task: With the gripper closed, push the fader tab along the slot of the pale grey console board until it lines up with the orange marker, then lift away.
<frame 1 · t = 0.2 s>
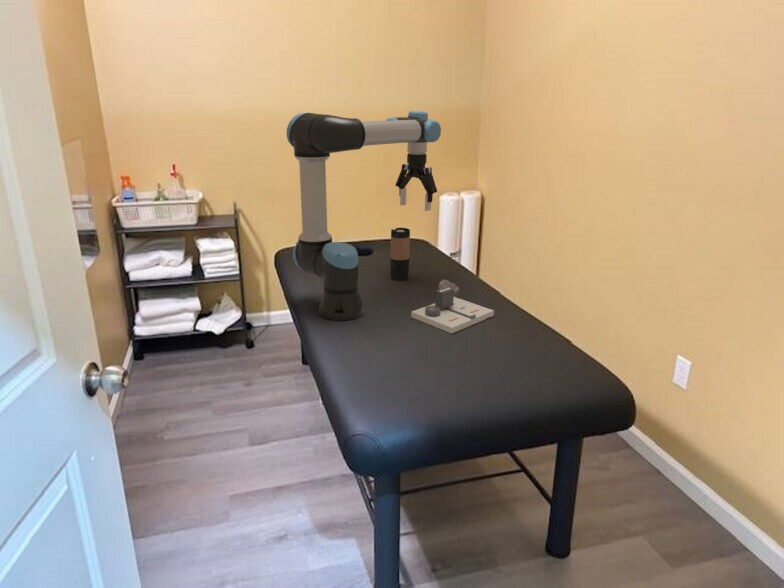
hand: (415, 207, 227), 28 cm above the table, fingers open, 13 cm apart
travel mug: (399, 278, 232), on the table
fader: (444, 298, 195), point 6 cm above the table, slide at 0.0 cm
console: (452, 316, 195), on the table
stone: (446, 297, 213), on the table
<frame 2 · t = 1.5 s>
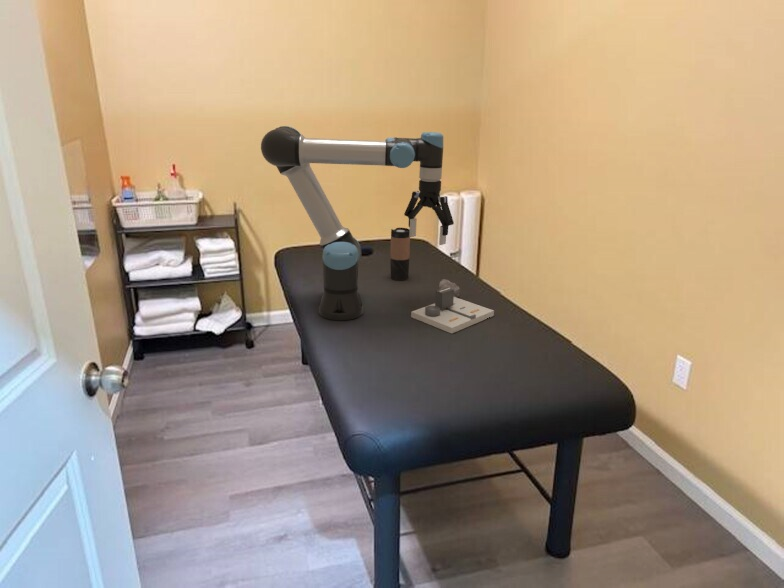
hand: (427, 240, 201), 22 cm above the table, fingers open, 13 cm apart
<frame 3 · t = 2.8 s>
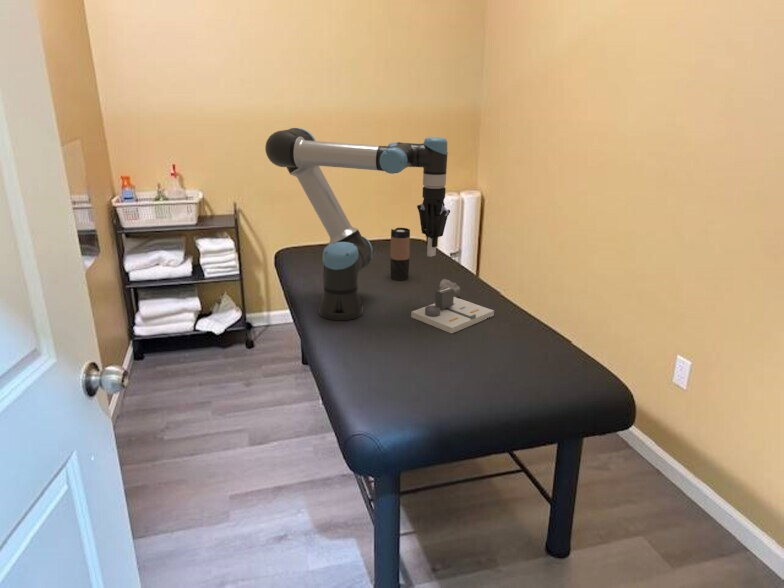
hand: (431, 255, 195), 19 cm above the table, fingers closed
nothing on the table moved.
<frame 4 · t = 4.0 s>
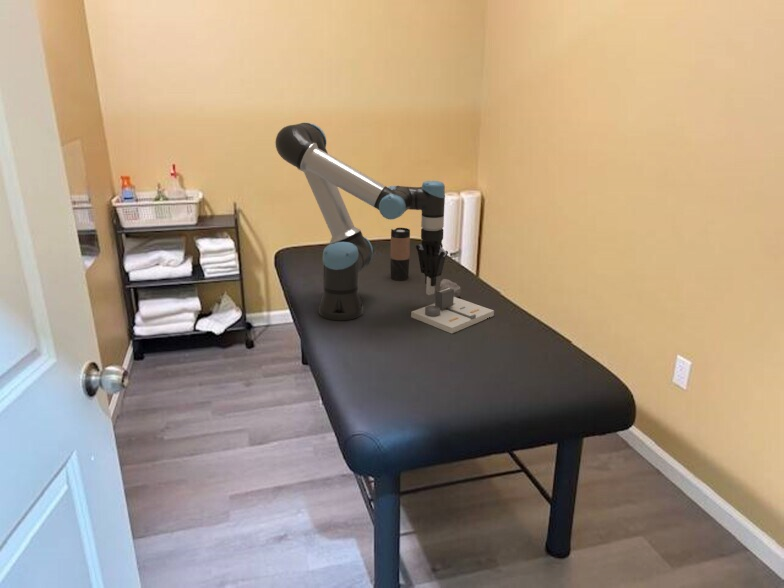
hand: (430, 293, 200), 5 cm above the table, fingers closed
nothing on the table moved.
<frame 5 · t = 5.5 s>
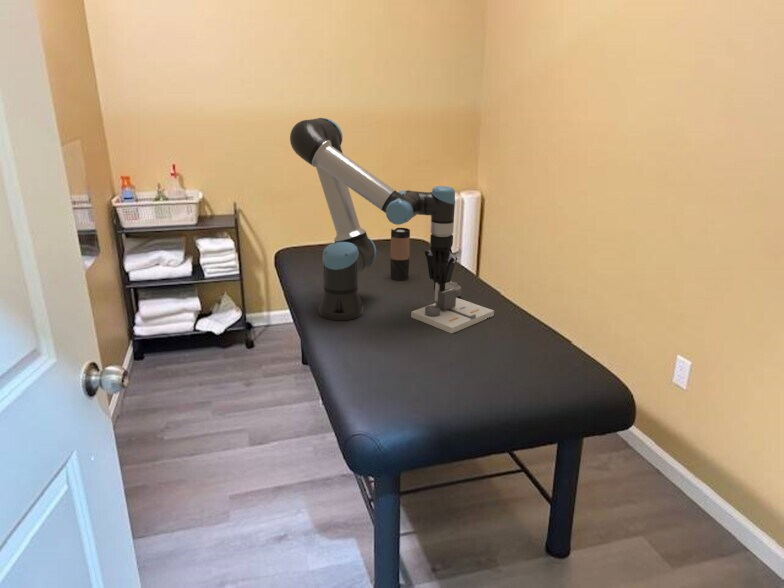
hand: (438, 300, 198), 4 cm above the table, fingers closed
fader: (446, 299, 195), point 6 cm above the table, slide at 1.1 cm, touching gripper
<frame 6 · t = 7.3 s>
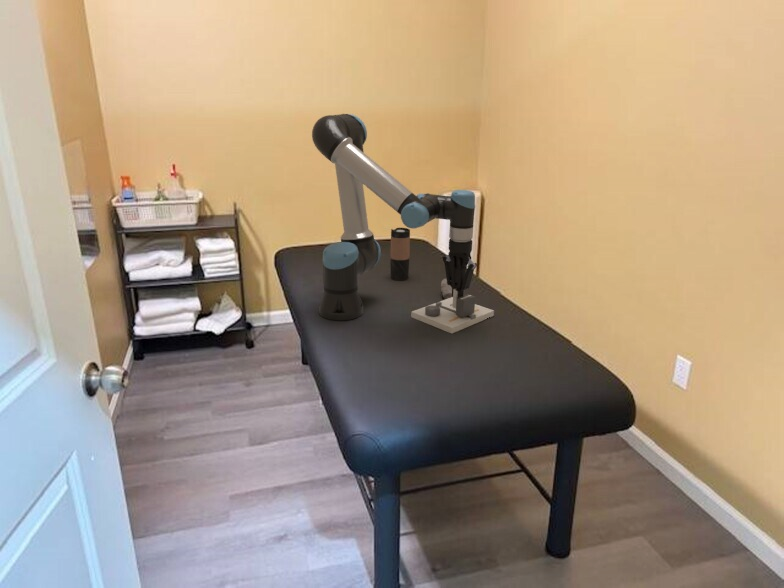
hand: (456, 306, 192), 4 cm above the table, fingers closed
fader: (465, 305, 189), point 6 cm above the table, slide at 9.2 cm, touching gripper
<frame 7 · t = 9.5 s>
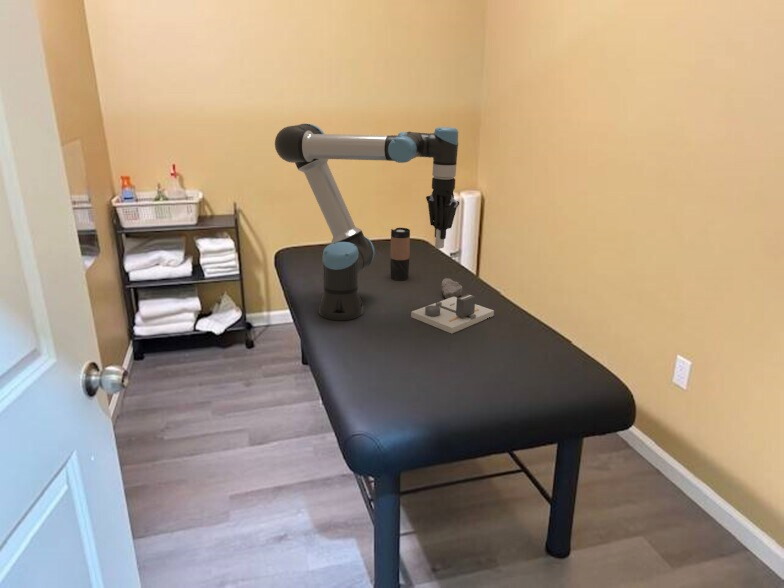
hand: (439, 247, 193), 23 cm above the table, fingers closed
fader: (465, 305, 189), point 6 cm above the table, slide at 9.2 cm
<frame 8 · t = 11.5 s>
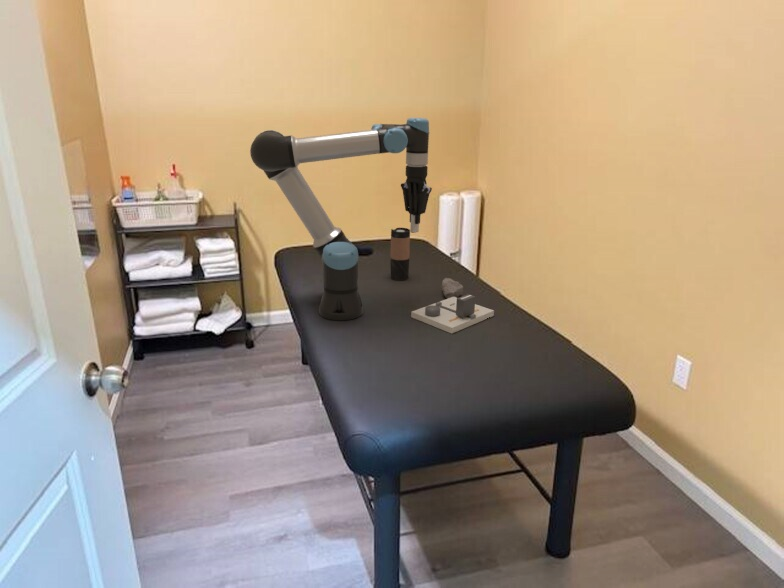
hand: (414, 232, 204), 24 cm above the table, fingers closed
at the end: fader slide at 9.2 cm; fader touching nothing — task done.
